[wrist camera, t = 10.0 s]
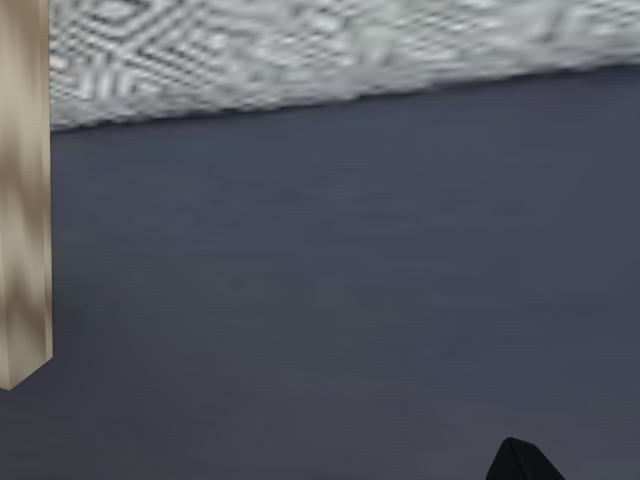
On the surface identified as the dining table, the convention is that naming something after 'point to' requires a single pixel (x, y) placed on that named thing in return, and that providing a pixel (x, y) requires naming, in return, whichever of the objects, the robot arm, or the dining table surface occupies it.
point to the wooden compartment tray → (24, 191)
